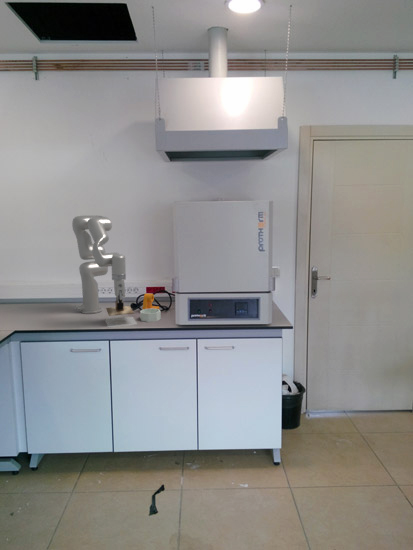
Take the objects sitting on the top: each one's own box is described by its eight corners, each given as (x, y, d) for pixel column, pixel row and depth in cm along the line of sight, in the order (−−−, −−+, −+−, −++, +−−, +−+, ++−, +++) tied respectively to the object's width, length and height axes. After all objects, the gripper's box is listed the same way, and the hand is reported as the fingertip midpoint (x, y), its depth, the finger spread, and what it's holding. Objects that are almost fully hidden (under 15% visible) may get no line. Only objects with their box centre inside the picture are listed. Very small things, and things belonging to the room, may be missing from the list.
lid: (108, 315, 209) (108, 305, 208) (106, 309, 221) (105, 299, 220) (133, 313, 214) (133, 303, 213) (129, 307, 226) (129, 297, 225)
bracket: (153, 315, 234) (153, 296, 232) (142, 314, 236) (141, 295, 234) (159, 310, 244) (159, 292, 242) (149, 309, 246) (148, 291, 244)
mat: (108, 328, 208) (108, 327, 208) (105, 320, 223) (105, 319, 223) (137, 325, 213) (137, 324, 213) (132, 317, 228) (132, 316, 228)
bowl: (142, 323, 217) (142, 314, 216) (139, 318, 227) (138, 309, 226) (162, 321, 221) (162, 312, 220) (157, 316, 231) (157, 307, 230)
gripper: (127, 279, 207) (128, 312, 211) (123, 273, 223) (124, 304, 226) (113, 280, 205) (114, 313, 208) (110, 274, 220) (111, 305, 224)
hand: (119, 308), depth 217 cm, fingers closed on lid, 4 cm apart
